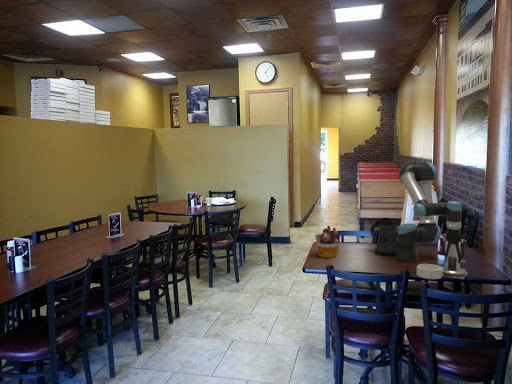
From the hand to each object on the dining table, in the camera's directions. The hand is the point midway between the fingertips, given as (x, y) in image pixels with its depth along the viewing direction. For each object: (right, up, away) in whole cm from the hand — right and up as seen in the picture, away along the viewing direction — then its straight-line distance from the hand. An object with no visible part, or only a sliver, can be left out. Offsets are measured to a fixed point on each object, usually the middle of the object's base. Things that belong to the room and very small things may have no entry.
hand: (452, 267), depth 234 cm
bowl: (-14, -4, -1) cm, 15 cm away
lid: (0, -2, 0) cm, 2 cm away
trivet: (0, -4, 0) cm, 4 cm away
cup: (+6, -3, +12) cm, 14 cm away
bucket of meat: (-64, -1, +47) cm, 79 cm away
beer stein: (-23, 0, +50) cm, 55 cm away
